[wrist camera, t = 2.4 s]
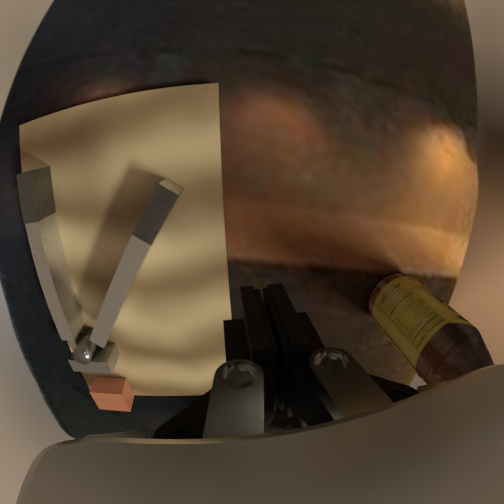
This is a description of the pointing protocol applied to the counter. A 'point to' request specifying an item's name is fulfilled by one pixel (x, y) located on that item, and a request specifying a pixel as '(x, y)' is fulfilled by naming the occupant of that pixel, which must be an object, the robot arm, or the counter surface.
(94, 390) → the tab
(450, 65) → the counter surface
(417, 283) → the sauce bottle
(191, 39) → the counter surface
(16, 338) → the counter surface
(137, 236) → the tong jaw
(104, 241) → the board
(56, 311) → the base
